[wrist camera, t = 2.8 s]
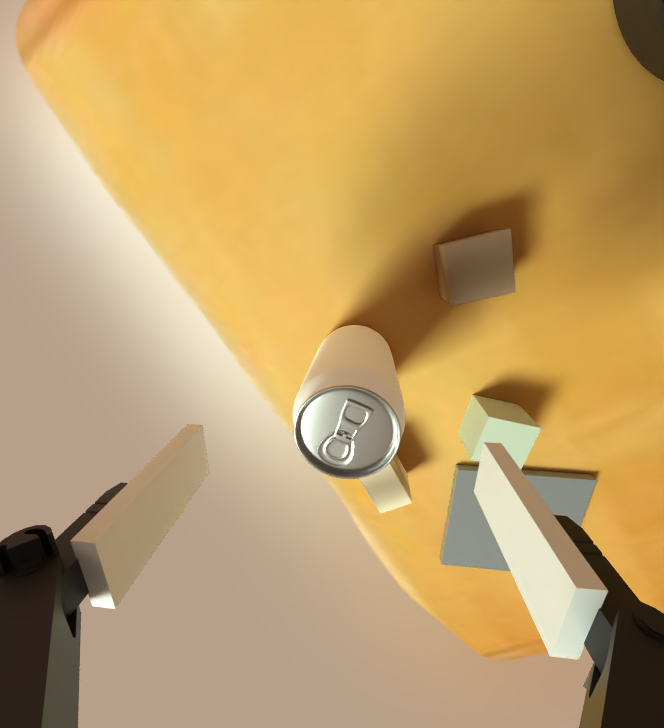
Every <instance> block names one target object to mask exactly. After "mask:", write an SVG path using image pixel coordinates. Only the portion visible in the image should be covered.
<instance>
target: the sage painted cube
mask: <svg viewBox="0 0 664 728" xmlns="http://www.w3.org/2000/svg"><path fill="white" fill-rule="evenodd" d="M540 430H541V427H540V426H539V425H538V424H537V423H536V422H535V421H534V420H533V419H532V418H531V417H530V416H529V415H528V414H527V413H526V412H525V411H524V410H523V409H522V408H521V407H520V406H519V405H518V404H514V403H510V402H505V401H500V400H496V399H491V398H486V397H482V396H477V395H472V398H471V400H470V403H469V405H468V408H467V411H466V413H465V416H464V418H463V421H462V423H461V426H460V429H459V431H458V435H459V437H460V439H461V441H462V443H463V445H464V447H465V449H466V451H467V453H468V455H469V457H470V459H471V460H474V461H479V462H480V458H481V454H482V449H483V444H484V442H491V443H502V445H503V446H504V447H505V449H506V450H507V452H508V453H509V454H510V456H511V457H512V458H513V460H514V461H515V463H516V464H517V465H518V467H519V468H520V470H521V469H522V467H523V465H524V463H525V461H526V459H527V457H528V454H529V452H530V450H531V448H532V446H533V444H534V442H535V440H536V438H537V436H538V434H539V432H540Z"/></svg>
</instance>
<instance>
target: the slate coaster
mask: <svg viewBox="0 0 664 728" xmlns="http://www.w3.org/2000/svg"><path fill="white" fill-rule="evenodd" d="M478 468H479V466H469V465H456V468H455V473H454V479H453V485H452V490H451V496H450V502H449V507H448V513H447V519H446V524H445V530H444V536H443V541H442V547H441V553H440V561H441V564H444V565H453V566H463V567H473V568H483V569H493V570H503V571H510V569H509V566H508V564H507V562H506V560H505V558H504V556H503V553H502V551H501V549H500V547H499V545H498V543H497V541H496V538H495V536H494V534H493V532H492V530H491V528H490V525H489V523H488V521H487V519H486V517H485V515H484V512H483V510H482V508H481V506H480V504H479V502H478V500H477V497H476V495H475V493H474V488H475V483H476V478H477V473H478ZM521 471H522V472H523V474H524V475H525V476H526V478H527V479H528V481H529V482H530V483H531V485H532V486H533V487H534V489H535V490H536V492H537V493H538V494H539V496H540V497H541V499H542V500H543V501H544V503H545V504H546V505H547V507H548V508H549V510H550V511H551V512H552V514H553V515H561V516H567V517H569V518H570V519H571V520H573V521H574V522H575V523H576V524H578V525H579V526H581V523H582V520H583V518H584V515H585V512H586V509H587V507H588V504H589V501H590V498H591V496H592V493H593V490H594V487H595V485H596V482H597V480H596V479H595V478H594V477H593V476H592V475H591V474H577V473H564V472H550V471H537V470H523V469H521Z"/></svg>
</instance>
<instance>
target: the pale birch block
mask: <svg viewBox="0 0 664 728" xmlns="http://www.w3.org/2000/svg"><path fill="white" fill-rule="evenodd" d="M359 479H360V481H361V483H362V484H363V486H364V487H365V489H366V491H367V492H368V494H369V495H370V497H371V499H372V500H373V502H374V504H375V505H376V507H377V508H378V510H379V512H380V513H384V512H387V511H390V510H392V509H395V508H398V507H401V506H404V505H407V504H410V503H412V499H411V493H410V487H409V482H408V476H407V472H406V470H405V469H404V467H403V465H402V463H401V462H400V460H399V458H398V456H397V455H395V457H394V458H393V459H392V461H391V462H390V463H389V464H388V465H387V466H386V467H385V468H383V469H382V470H380V471H379V472H377V473H375V474H373V475H370V476H367V477H363V478H359Z"/></svg>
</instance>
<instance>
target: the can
mask: <svg viewBox="0 0 664 728" xmlns="http://www.w3.org/2000/svg"><path fill="white" fill-rule="evenodd" d="M293 424H294V438H295V442H296V445H297V448H298V450H299V451H300V453H301V455H302V456H303V457H304V459H305V460H306V461H307V462H308V463H309V464H310V465H312V466H313V467H314V468H316V469H317V470H319V471H320V472H322V473H324V474H327V475H329V476H332V477H336V478H342V479H358V478H363V477H367V476H370V475H373V474H375V473H377V472H379V471H380V470H382V469H383V468H385V467H386V466H387V465H388V464H389V463H390V462H391V461H392V459H393V458H394V457H395V455H396V453H397V451H398V449H399V446H400V442H401V437H402V435H403V432H404V428H405V408H404V403H403V398H402V394H401V389H400V385H399V381H398V377H397V373H396V369H395V365H394V361H393V357H392V353H391V350H390V348H389V345H388V344H387V342H386V341H385V339H384V338H383V337H382V336H381V335H380V334H379V333H377V332H376V331H374V330H373V329H371V328H368V327H365V326H361V325H348V326H344V327H341V328H338V329H336V330H334V331H333V332H331V333H330V334H329V335H328V336H327V337H326V338H325V339H324V341H323V342H322V344H321V345H320V347H319V349H318V351H317V353H316V355H315V357H314V359H313V362H312V364H311V366H310V368H309V370H308V372H307V374H306V376H305V379H304V381H303V383H302V385H301V387H300V389H299V392H298V394H297V397H296V399H295V403H294V407H293Z"/></svg>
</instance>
